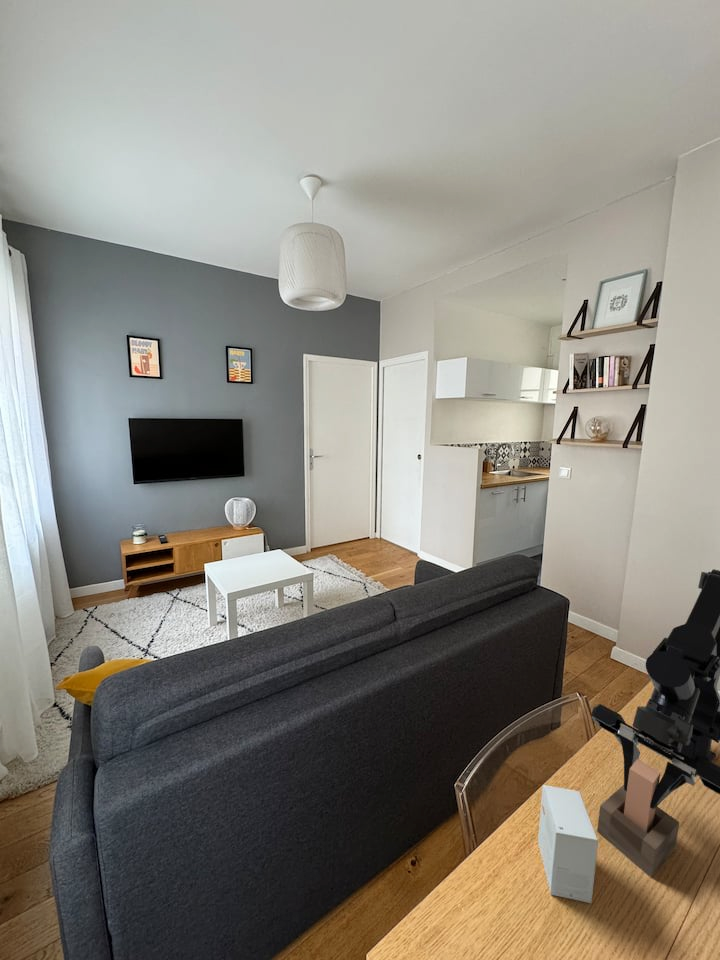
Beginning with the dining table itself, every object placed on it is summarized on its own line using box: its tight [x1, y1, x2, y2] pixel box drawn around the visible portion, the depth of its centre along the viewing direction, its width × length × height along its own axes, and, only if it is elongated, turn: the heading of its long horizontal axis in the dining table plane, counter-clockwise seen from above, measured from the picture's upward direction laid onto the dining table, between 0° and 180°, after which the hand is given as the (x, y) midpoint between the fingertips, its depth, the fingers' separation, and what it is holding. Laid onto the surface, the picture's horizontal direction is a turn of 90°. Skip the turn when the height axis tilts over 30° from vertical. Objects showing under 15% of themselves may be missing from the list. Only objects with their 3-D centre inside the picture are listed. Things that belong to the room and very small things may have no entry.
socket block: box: [596, 784, 680, 878], centre depth 66 cm, size 8×8×5 cm
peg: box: [624, 758, 662, 833], centre depth 65 cm, size 3×3×11 cm
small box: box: [537, 784, 599, 904], centre depth 61 cm, size 8×6×10 cm
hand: (638, 799), depth 64 cm, fingers closed on peg, 3 cm apart
